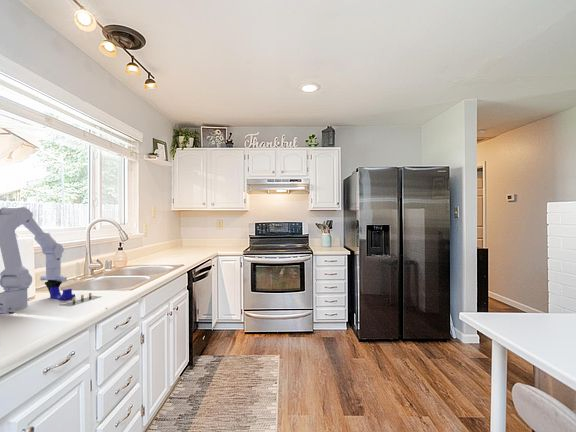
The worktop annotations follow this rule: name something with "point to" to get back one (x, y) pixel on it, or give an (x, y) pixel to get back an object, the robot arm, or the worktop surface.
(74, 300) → the header pins
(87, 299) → the header plate
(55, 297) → the cable clip
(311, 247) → the worktop surface
